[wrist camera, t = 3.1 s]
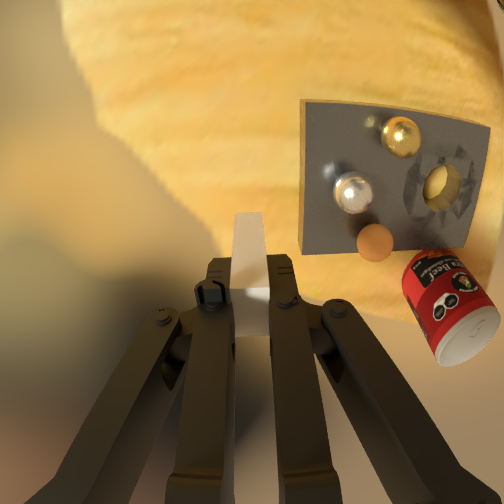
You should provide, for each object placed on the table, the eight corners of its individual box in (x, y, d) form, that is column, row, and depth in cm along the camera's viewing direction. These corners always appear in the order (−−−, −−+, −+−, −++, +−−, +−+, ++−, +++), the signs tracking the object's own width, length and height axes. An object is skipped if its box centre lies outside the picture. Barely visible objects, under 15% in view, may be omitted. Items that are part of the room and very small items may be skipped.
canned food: (460, 241, 28) (512, 304, 19) (442, 293, 33) (480, 358, 24) (407, 245, 29) (456, 318, 20) (393, 301, 33) (426, 374, 24)
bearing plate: (299, 99, 21) (305, 101, 19) (475, 121, 21) (490, 127, 19) (298, 240, 28) (301, 255, 26) (452, 235, 28) (463, 247, 26)
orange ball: (354, 217, 24) (366, 236, 22) (388, 216, 24) (402, 235, 21) (350, 249, 26) (360, 270, 23) (381, 247, 26) (394, 268, 23)
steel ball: (329, 165, 22) (340, 179, 19) (367, 166, 22) (383, 180, 19) (327, 203, 24) (337, 222, 21) (363, 203, 23) (377, 221, 21)
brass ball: (375, 111, 19) (393, 118, 17) (411, 115, 19) (431, 123, 16) (372, 150, 21) (389, 163, 18) (407, 153, 21) (426, 166, 18)
